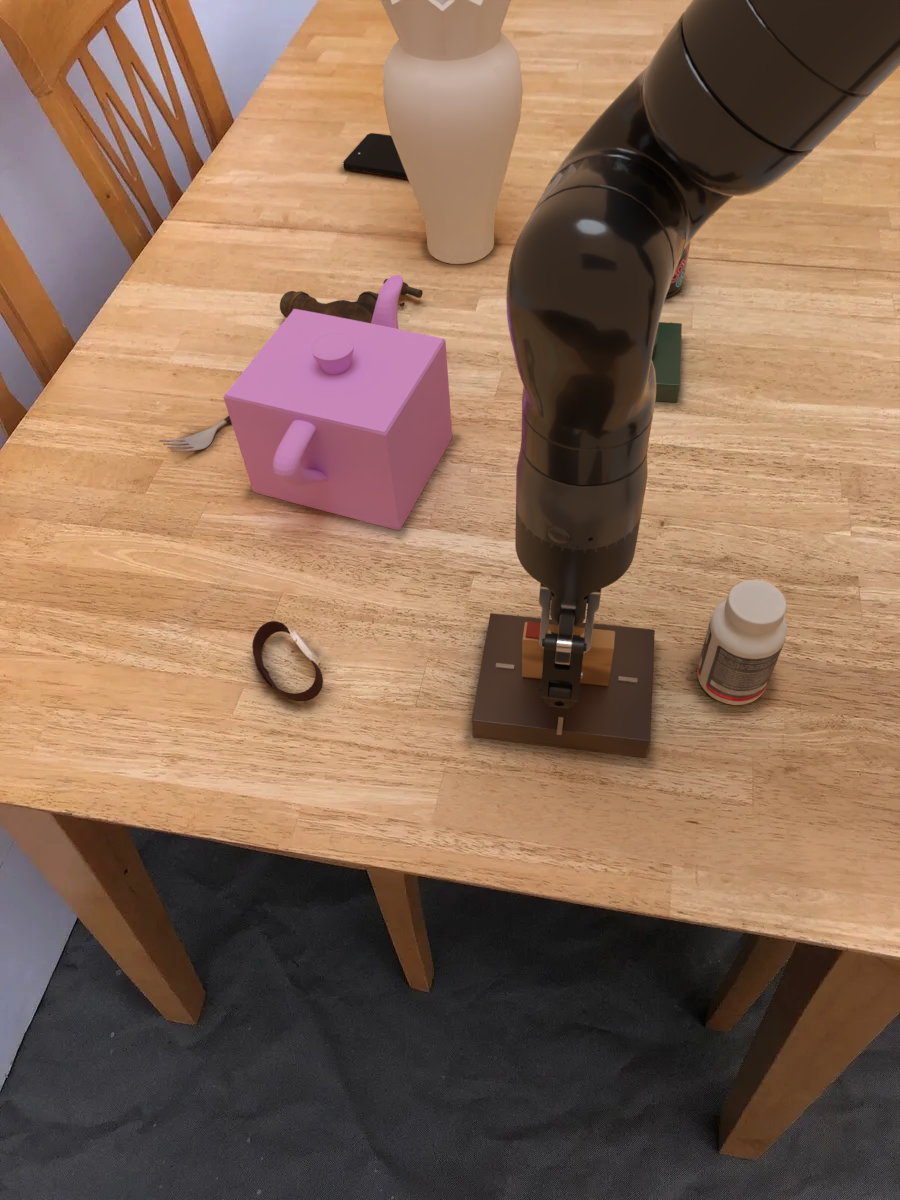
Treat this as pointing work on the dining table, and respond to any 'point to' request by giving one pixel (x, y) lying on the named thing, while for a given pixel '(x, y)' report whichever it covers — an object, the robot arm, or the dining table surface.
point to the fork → (197, 439)
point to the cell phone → (376, 157)
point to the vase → (453, 116)
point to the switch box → (667, 361)
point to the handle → (594, 660)
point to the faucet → (339, 304)
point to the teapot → (345, 413)
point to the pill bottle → (743, 643)
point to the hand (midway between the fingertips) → (565, 652)
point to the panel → (594, 721)
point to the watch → (275, 626)
